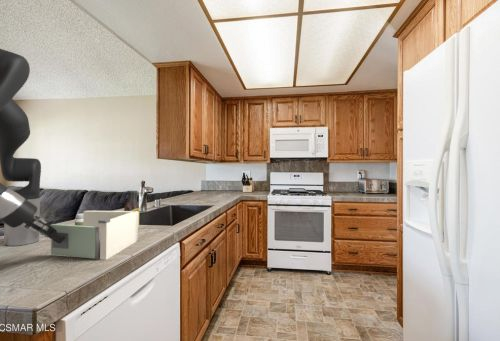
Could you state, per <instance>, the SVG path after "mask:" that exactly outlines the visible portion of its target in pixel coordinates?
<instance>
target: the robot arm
mask: <svg viewBox="0 0 500 341" xmlns="http://www.w3.org/2000/svg"><path fill="white" fill-rule="evenodd" d="M30 70H31V68H30V64H29V61H28V60H27V59H26V58H25V57H24V56H22V55H20V54H17V53H15V52H12V51H10V50H5V49H3V48H0V171H1V174H2V178H4V180H5V181H7V182H12V183H13V182H17V183H19V182H28V184H27V185H25V186H24V187H21V188H19V189H15V190H12V189H10V188H9V187H7V186H5V185H4V184H3V183H1V182H0V222H1V223H4V225H3V226H4V227H3V228H4V229H3V230H4V231H3V234H4V236H3V244H4V245H7V246H11V247H13V246H23V245H24V246H26V245H30V244H34V243H37V242H38V241H40V235H41V236H44V237H45V238H49V239H50V240H51V239H52V240H53V241H55V242H57V243H61V242H62V241H63V240H64V239H65V237H63V236H62V235H60V234H59V233H57V232H56V231H57V230H56V229H54V228H53V227H52V226H51V225H52V224H50V223H49V222H47V221H46V220H45V219H44V218H43V217H41V216H40V212H41V211H40V208H41V207H40V206H41V205H40V203H41V202H40V201H41V200H40V198H41V194H40V193H41V192H40V191H41V189H40V188H41V175H42V163H41V161H40V160H39V159H38V158H34V157H33V158H28V157H14V155H15V153H16V151H17V150H18V149H20V147H21V146H22V145H23V144H24V143H25V142H27V140H28V139H29V138H30V135H31V127H30V123H29V122H30V121H29V117H28V116H27V114H26V112H25V111H24V109H22V108H21V106H20V105H19V104H18V103H17V102H16V101H15V100H14V99H13V98H14V97H15V96H16V94H17V93H19V91H20V90H21V89H22V88H23V87H24V86H25V84H26V83H27V81H28V79H29V77H30V73H31V72H30Z"/></svg>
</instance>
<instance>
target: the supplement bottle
mask: <svg viewBox="0 0 500 341" xmlns="http://www.w3.org/2000/svg"><path fill="white" fill-rule="evenodd" d="M74 225H78V226H83V213H77V214H76V219H75V220H74Z"/></svg>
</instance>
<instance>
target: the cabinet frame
mask: <svg viewBox="0 0 500 341" xmlns="http://www.w3.org/2000/svg"><path fill="white" fill-rule="evenodd" d="M83 226H94V227H99V242H100V243H99V260H103V261H105V260H106V261H107V260H109V259H110V258H111V257H113V256H115V255H117V254H118V253H120V252H122V251H123V250H124V249H127V248H128V247H130V246H131V245H132V244H135V243H137V242H138V241H139V231H138V211H124V210H84V211H83Z"/></svg>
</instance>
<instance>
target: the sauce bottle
mask: <svg viewBox="0 0 500 341" xmlns="http://www.w3.org/2000/svg"><path fill="white" fill-rule="evenodd" d="M126 191H127V200H126V203H125V204H124V207H123V209H124V210H123V211H138V232H140V205H139V203H138V202H139V201H138V198H137V197H138V190H137V189H135V190H134V189H133V190H130V189H129V190H126Z"/></svg>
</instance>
